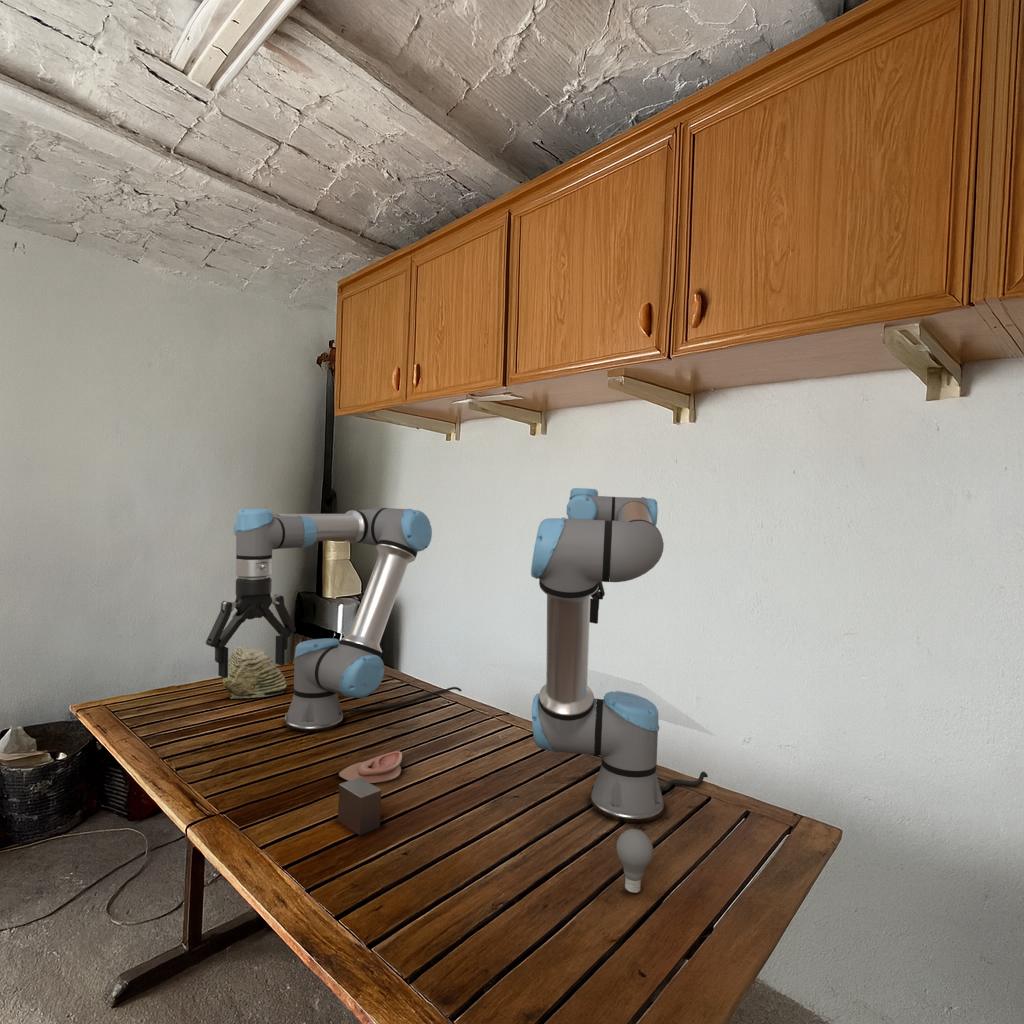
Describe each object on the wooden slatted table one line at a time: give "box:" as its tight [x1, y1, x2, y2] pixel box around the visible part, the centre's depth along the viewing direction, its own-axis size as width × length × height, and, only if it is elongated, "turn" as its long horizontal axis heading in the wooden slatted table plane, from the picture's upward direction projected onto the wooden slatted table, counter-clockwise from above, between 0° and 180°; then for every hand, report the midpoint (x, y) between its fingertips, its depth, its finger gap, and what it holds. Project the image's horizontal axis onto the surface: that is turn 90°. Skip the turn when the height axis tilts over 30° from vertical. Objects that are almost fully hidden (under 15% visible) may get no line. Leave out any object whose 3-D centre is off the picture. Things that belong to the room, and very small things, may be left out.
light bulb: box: [615, 828, 654, 894], centre depth 106 cm, size 6×6×10 cm
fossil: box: [222, 646, 288, 699], centre depth 198 cm, size 9×18×15 cm, turn 132°
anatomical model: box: [338, 750, 403, 784], centre depth 146 cm, size 13×4×12 cm
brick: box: [337, 777, 382, 836], centre depth 123 cm, size 8×5×7 cm, turn 47°
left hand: (252, 670), depth 144 cm, fingers open, 13 cm apart
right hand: (578, 625), depth 169 cm, fingers open, 13 cm apart
